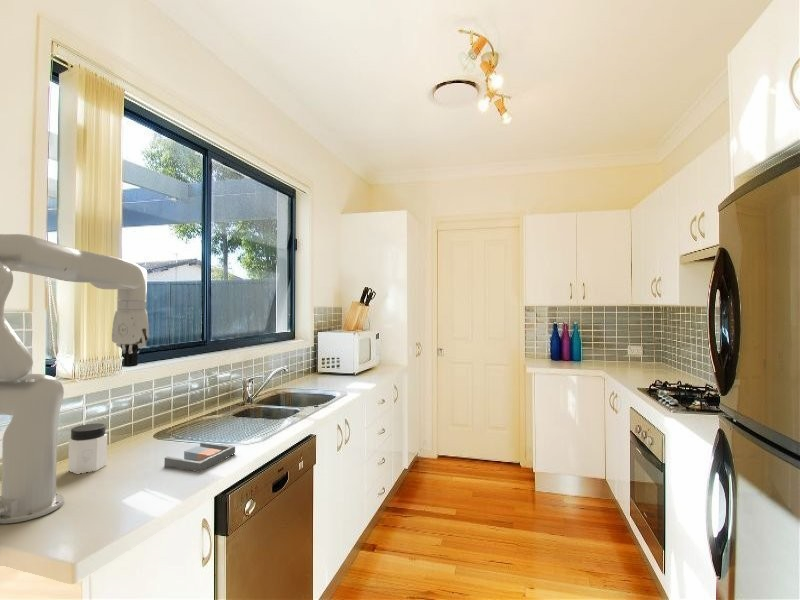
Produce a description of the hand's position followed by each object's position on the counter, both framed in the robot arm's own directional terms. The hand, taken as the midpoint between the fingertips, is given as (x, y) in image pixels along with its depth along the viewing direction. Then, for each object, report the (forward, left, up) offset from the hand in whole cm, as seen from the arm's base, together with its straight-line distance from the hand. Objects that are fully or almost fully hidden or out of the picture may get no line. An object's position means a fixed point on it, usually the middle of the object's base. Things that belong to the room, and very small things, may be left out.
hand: (130, 366), depth 127 cm
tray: (+8, -19, -29) cm, 36 cm away
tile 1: (+8, -18, -29) cm, 35 cm away
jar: (-8, +6, -29) cm, 31 cm away
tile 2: (+8, -23, -29) cm, 38 cm away
